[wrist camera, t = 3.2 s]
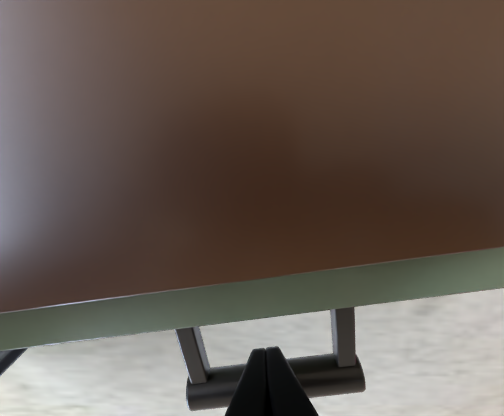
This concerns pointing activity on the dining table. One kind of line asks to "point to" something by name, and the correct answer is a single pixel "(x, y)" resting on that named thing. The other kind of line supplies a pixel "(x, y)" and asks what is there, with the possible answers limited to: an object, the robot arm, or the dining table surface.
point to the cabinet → (242, 140)
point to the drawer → (260, 316)
